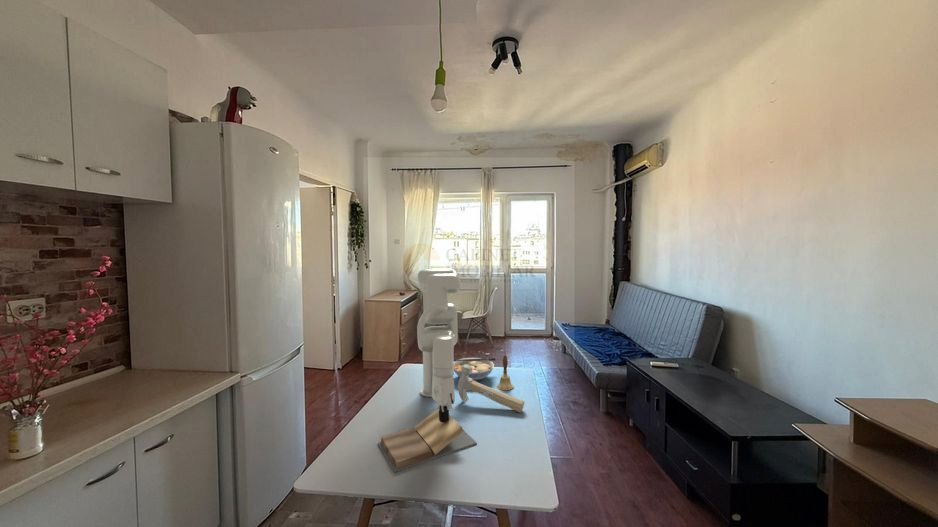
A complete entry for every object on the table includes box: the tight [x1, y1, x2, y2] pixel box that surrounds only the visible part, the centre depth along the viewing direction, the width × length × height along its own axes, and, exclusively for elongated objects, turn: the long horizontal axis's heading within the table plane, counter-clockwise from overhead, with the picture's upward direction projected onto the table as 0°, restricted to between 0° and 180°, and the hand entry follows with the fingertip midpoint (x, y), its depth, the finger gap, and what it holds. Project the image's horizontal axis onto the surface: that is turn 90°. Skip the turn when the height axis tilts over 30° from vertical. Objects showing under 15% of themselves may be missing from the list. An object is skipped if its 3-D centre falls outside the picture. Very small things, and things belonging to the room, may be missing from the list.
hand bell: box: [496, 354, 515, 391], centre depth 171 cm, size 8×8×16 cm
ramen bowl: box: [454, 357, 496, 382], centre depth 183 cm, size 25×23×8 cm
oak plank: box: [413, 407, 464, 455], centre depth 125 cm, size 17×12×2 cm
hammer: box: [457, 364, 525, 413], centre depth 152 cm, size 16×5×30 cm
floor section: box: [377, 427, 478, 473], centre depth 123 cm, size 18×30×3 cm, turn 120°
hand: (444, 420), depth 125 cm, fingers closed
